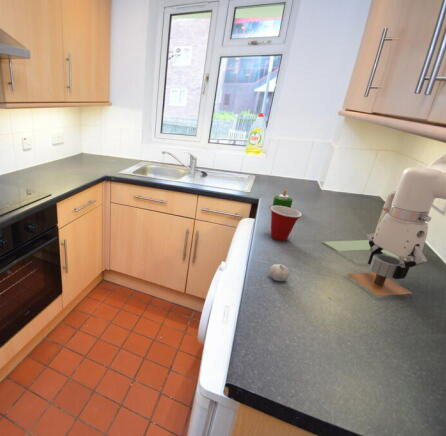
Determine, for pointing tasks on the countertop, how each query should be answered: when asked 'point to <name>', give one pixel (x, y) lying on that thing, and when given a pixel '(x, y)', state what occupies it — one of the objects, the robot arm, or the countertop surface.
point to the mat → (354, 246)
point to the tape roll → (384, 265)
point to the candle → (282, 200)
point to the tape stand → (379, 284)
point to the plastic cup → (282, 221)
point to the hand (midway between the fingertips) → (385, 270)
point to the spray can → (386, 207)
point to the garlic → (279, 272)
